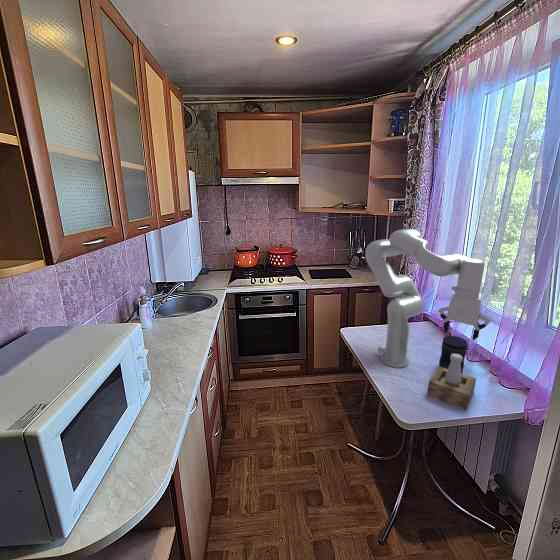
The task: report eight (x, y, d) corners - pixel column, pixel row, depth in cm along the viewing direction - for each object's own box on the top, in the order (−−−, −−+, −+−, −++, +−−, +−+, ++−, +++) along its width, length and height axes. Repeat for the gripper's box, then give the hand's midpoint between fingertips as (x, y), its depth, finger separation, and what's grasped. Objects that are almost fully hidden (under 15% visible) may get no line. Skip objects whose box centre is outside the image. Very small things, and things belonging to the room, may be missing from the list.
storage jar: (434, 364, 151) (438, 335, 146) (455, 364, 150) (460, 335, 146) (444, 376, 141) (449, 346, 137) (467, 376, 141) (472, 346, 136)
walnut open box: (426, 396, 129) (429, 381, 127) (436, 380, 139) (438, 366, 137) (466, 411, 120) (469, 395, 118) (473, 393, 130) (476, 378, 128)
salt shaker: (455, 380, 131) (459, 351, 128) (463, 388, 126) (468, 358, 123) (441, 380, 131) (445, 351, 128) (448, 388, 126) (453, 358, 122)
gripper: (439, 289, 120) (432, 331, 125) (492, 300, 109) (483, 345, 114) (445, 285, 126) (439, 325, 131) (497, 295, 114) (488, 338, 119)
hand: (460, 334), depth 122 cm, fingers open, 9 cm apart
